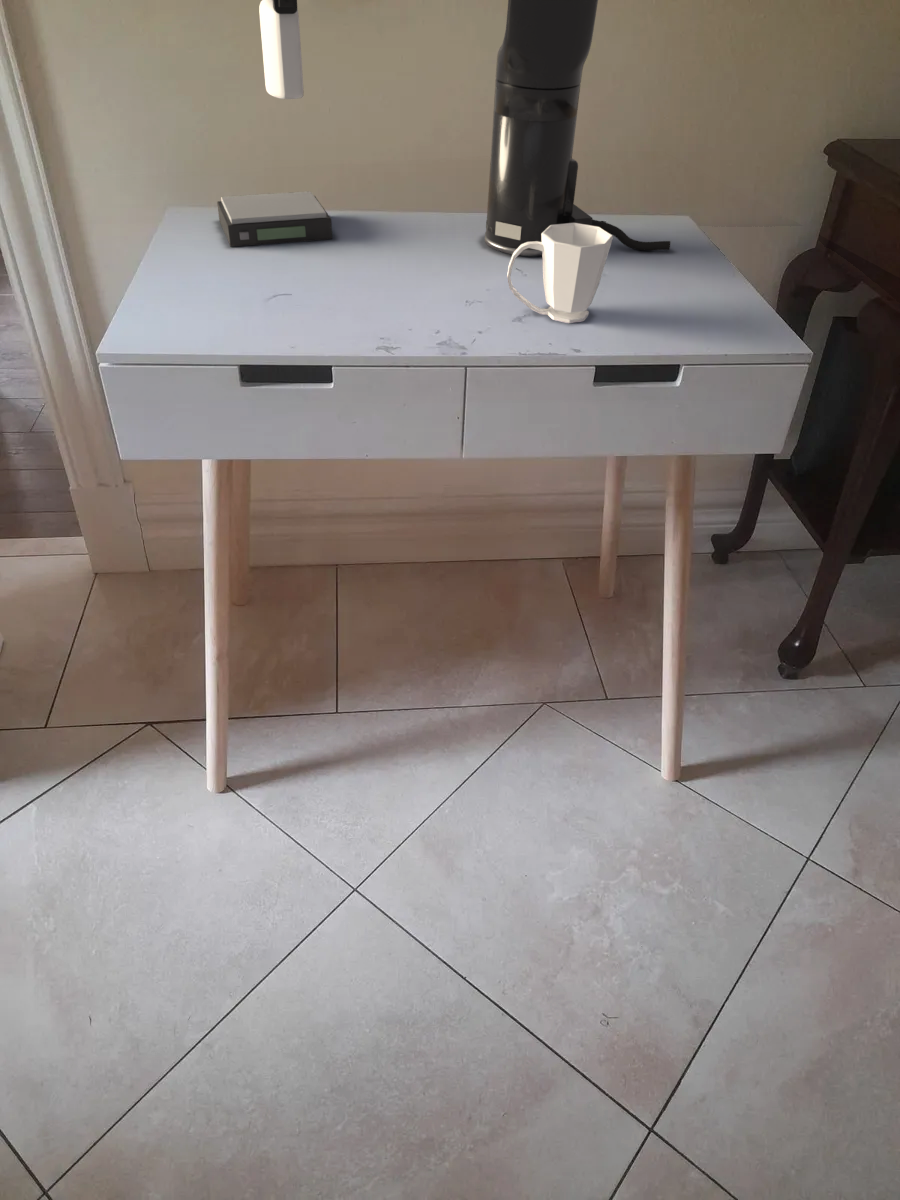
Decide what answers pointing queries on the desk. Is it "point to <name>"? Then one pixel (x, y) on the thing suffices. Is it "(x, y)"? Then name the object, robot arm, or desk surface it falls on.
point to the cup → (568, 269)
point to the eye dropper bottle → (281, 52)
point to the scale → (273, 218)
